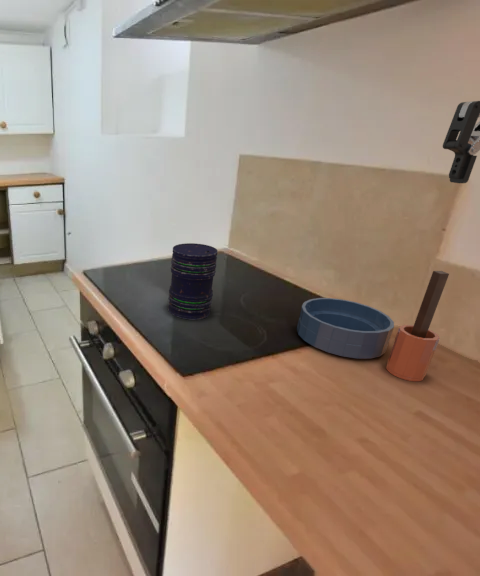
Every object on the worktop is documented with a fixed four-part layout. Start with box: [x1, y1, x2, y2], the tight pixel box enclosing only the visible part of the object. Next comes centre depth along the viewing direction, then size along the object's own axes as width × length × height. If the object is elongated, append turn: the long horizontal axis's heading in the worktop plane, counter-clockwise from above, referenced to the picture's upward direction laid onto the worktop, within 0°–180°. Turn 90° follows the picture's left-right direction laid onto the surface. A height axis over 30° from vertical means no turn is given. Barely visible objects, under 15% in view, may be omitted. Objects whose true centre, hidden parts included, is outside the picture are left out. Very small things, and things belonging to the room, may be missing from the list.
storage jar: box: [167, 242, 219, 321], centre depth 86 cm, size 10×10×15 cm
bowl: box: [296, 297, 395, 360], centre depth 75 cm, size 15×15×6 cm
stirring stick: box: [411, 270, 450, 338], centre depth 62 cm, size 3×1×18 cm, turn 90°
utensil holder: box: [385, 324, 441, 382], centre depth 64 cm, size 5×5×8 cm
